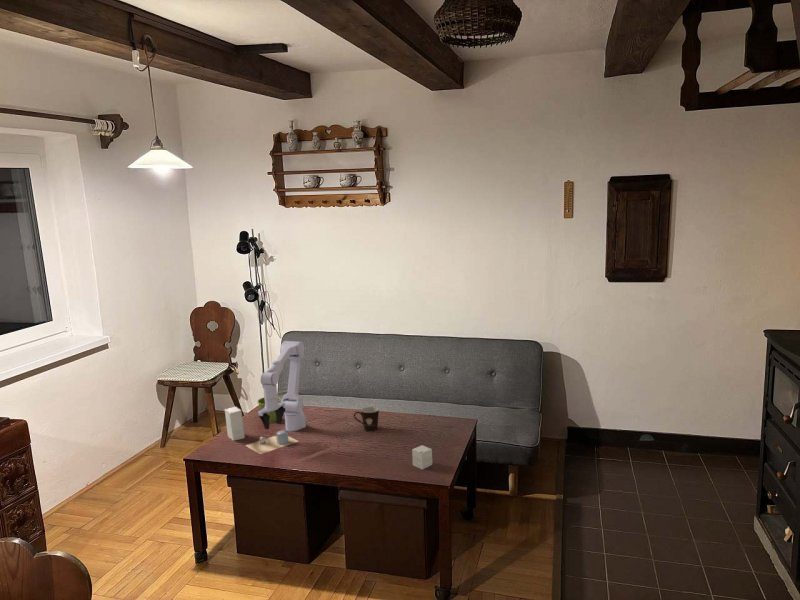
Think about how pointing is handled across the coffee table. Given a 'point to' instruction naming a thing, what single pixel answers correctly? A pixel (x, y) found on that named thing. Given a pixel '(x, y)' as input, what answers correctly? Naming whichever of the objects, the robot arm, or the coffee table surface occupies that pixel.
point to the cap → (282, 437)
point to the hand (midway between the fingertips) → (273, 426)
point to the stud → (262, 440)
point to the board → (268, 445)
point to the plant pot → (271, 414)
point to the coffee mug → (369, 418)
